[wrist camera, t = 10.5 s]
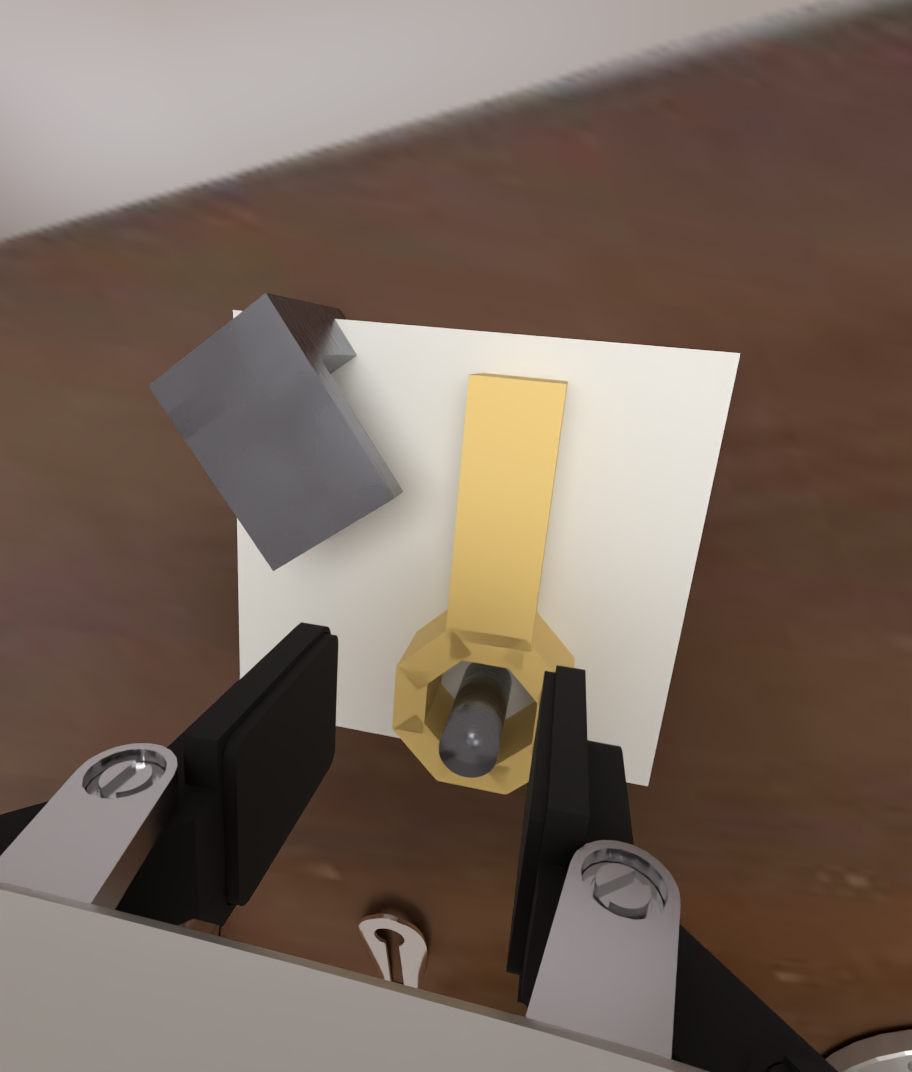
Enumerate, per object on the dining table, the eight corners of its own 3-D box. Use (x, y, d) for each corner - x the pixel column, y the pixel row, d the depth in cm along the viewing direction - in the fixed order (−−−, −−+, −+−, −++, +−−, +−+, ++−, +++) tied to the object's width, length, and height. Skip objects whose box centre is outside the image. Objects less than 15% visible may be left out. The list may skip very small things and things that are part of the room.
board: (731, 353, 21) (740, 353, 20) (644, 767, 26) (647, 786, 25) (249, 312, 24) (232, 310, 23) (253, 693, 29) (240, 707, 28)
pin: (517, 650, 26) (500, 731, 20) (511, 691, 26) (493, 783, 21) (470, 642, 26) (440, 720, 20) (466, 683, 27) (436, 771, 21)
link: (558, 755, 25) (556, 804, 22) (409, 726, 26) (389, 770, 23) (618, 385, 21) (624, 389, 18) (436, 368, 22) (415, 369, 19)
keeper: (243, 380, 25) (148, 386, 19) (339, 309, 23) (265, 292, 18) (338, 526, 26) (273, 571, 20) (435, 467, 24) (394, 498, 19)
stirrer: (323, 949, 28) (424, 968, 27) (350, 881, 31) (441, 896, 30) (353, 1205, 34) (435, 1226, 33) (372, 1126, 37) (448, 1144, 37)
